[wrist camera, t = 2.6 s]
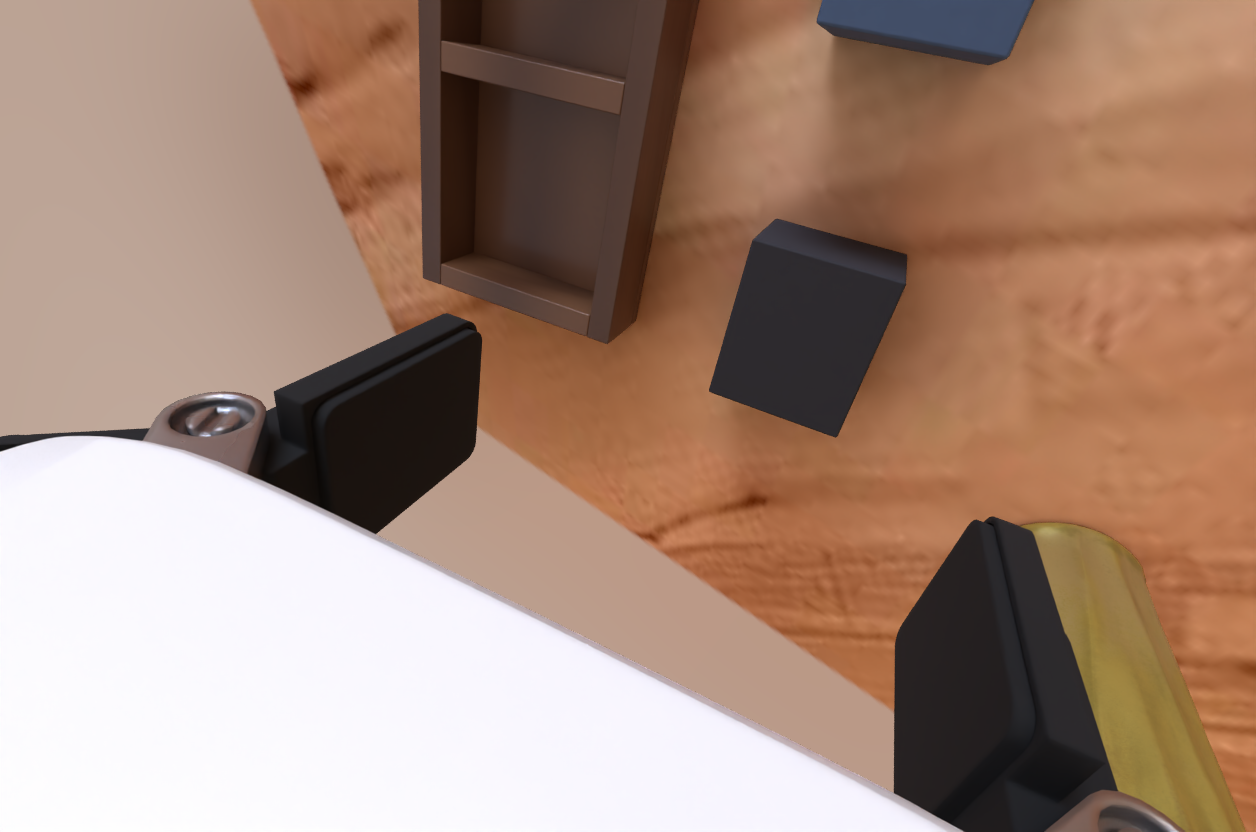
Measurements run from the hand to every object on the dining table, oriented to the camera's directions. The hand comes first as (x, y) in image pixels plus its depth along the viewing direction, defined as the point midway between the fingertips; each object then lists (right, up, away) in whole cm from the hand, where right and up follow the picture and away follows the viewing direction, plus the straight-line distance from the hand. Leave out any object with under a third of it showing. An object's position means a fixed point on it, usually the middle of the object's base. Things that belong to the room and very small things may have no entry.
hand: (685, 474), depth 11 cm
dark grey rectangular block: (+6, +5, +13) cm, 15 cm away
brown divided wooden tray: (-3, +15, +13) cm, 19 cm away
